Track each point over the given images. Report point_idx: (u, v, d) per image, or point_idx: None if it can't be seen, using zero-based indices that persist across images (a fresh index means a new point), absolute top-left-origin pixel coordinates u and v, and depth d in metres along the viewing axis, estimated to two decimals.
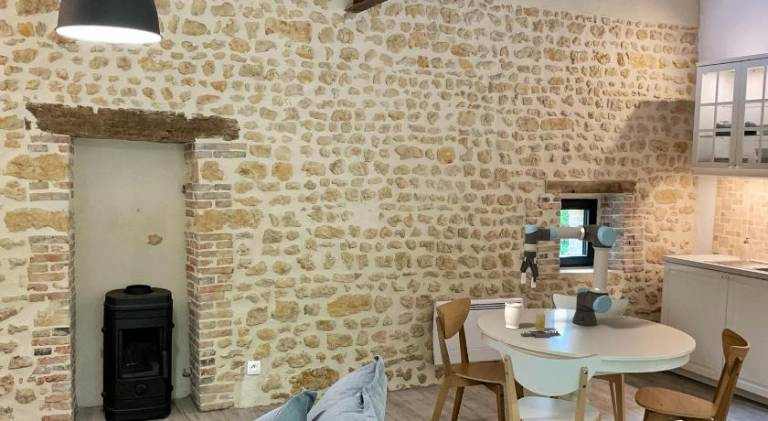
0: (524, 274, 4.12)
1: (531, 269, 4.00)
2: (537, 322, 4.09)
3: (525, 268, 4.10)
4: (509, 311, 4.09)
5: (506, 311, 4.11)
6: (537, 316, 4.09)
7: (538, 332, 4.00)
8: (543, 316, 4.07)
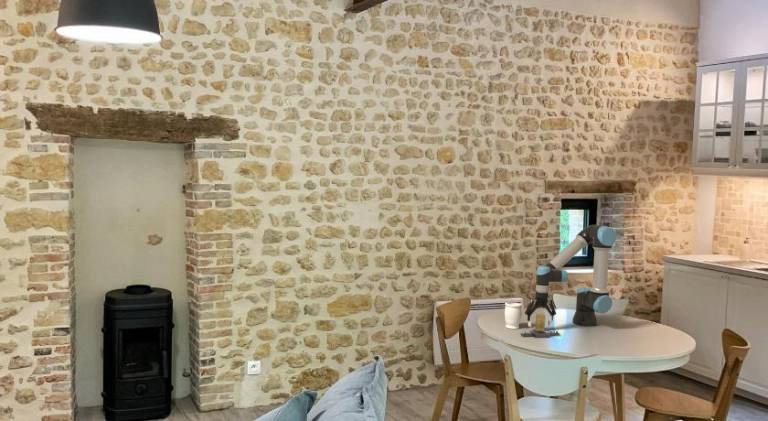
0: (549, 317, 4.11)
1: (532, 308, 4.08)
2: (537, 322, 4.09)
3: (547, 310, 4.10)
4: (509, 311, 4.09)
5: (506, 311, 4.11)
6: (537, 316, 4.09)
7: (538, 332, 4.00)
8: (543, 316, 4.07)
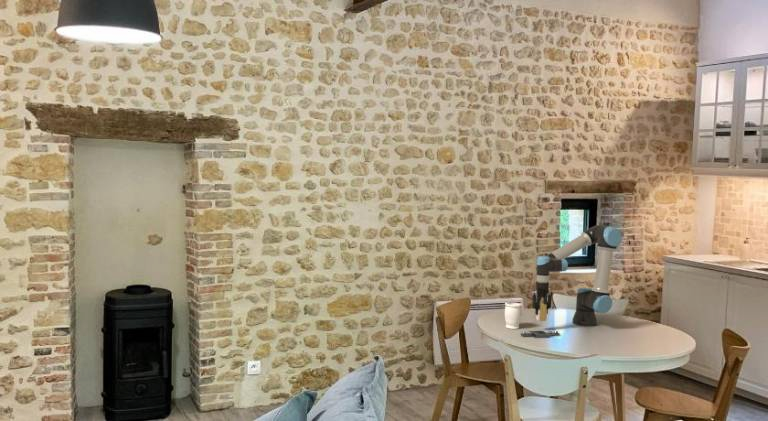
0: None
1: (537, 300, 4.09)
2: None
3: (544, 302, 4.09)
4: (509, 311, 4.09)
5: (506, 311, 4.11)
6: None
7: (538, 332, 4.00)
8: (544, 305, 4.07)
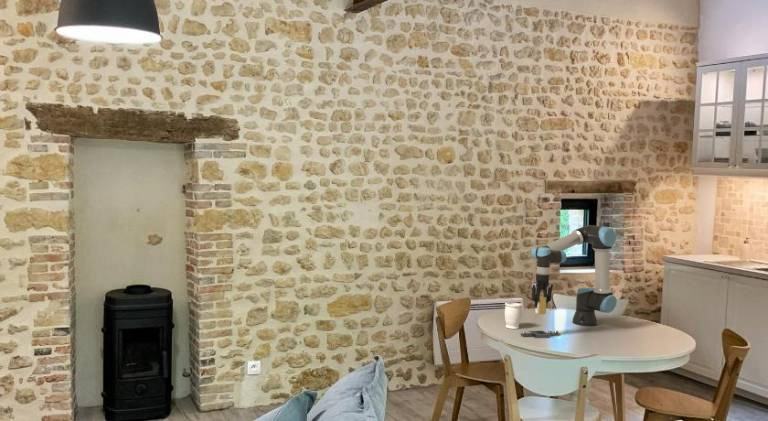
0: None
1: None
2: None
3: (544, 295, 3.95)
4: (509, 311, 4.09)
5: (506, 311, 4.11)
6: None
7: (538, 332, 4.00)
8: (544, 298, 3.93)
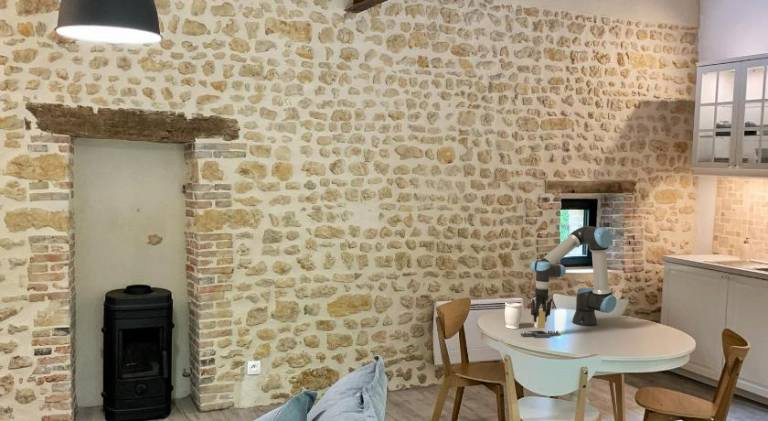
0: None
1: None
2: None
3: (543, 309, 3.96)
4: (509, 311, 4.09)
5: (506, 311, 4.11)
6: None
7: (538, 332, 4.00)
8: (543, 313, 3.93)
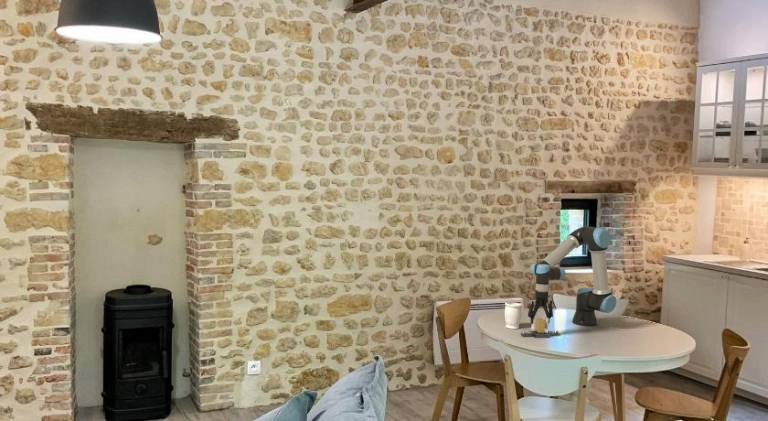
0: (546, 319, 3.96)
1: None
2: (537, 327, 3.95)
3: (545, 311, 3.96)
4: (509, 311, 4.09)
5: (506, 311, 4.11)
6: (537, 321, 3.95)
7: None
8: (543, 321, 3.94)
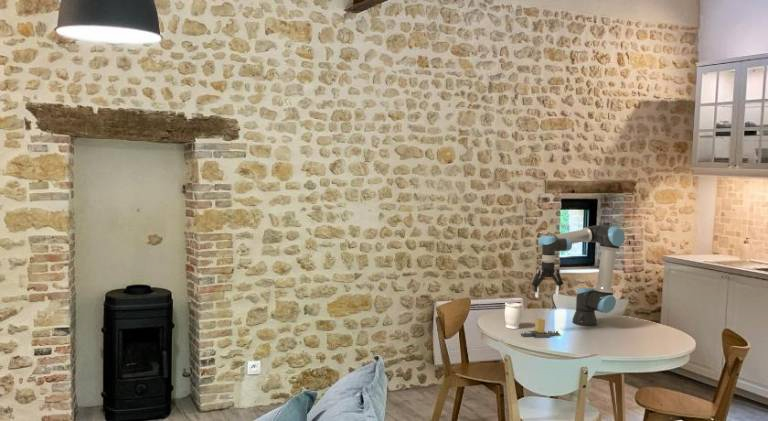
0: (557, 287, 4.02)
1: (538, 279, 4.00)
2: (536, 327, 3.95)
3: (554, 280, 4.02)
4: (509, 311, 4.09)
5: (506, 311, 4.11)
6: (536, 321, 3.95)
7: None
8: (543, 321, 3.94)
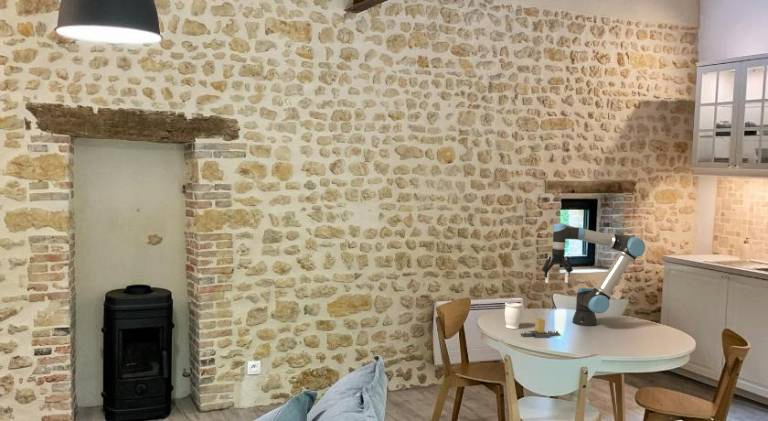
0: (566, 273, 4.16)
1: (549, 265, 4.14)
2: (536, 327, 3.95)
3: (564, 267, 4.16)
4: (509, 311, 4.09)
5: (506, 311, 4.11)
6: (536, 321, 3.95)
7: None
8: (543, 321, 3.94)
